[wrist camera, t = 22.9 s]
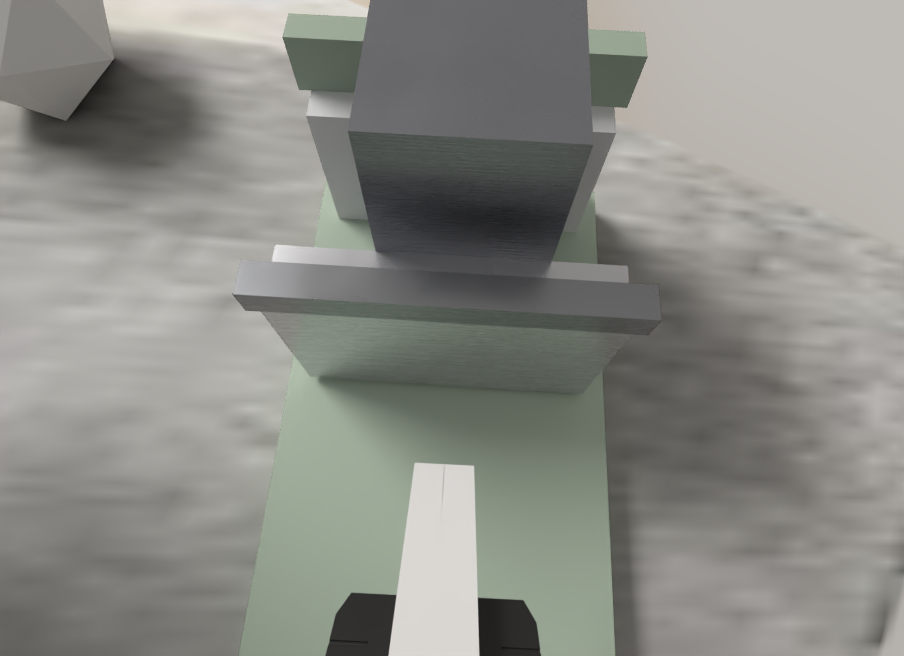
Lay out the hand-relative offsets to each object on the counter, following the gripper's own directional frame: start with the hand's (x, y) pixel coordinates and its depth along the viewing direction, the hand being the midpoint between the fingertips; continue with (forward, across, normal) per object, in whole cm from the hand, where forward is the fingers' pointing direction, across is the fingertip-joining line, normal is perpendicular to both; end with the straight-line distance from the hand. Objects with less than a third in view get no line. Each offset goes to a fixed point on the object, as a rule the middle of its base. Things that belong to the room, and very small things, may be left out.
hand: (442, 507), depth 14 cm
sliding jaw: (+11, 0, -1) cm, 11 cm away
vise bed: (+11, 0, -3) cm, 12 cm away
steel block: (+14, 0, +2) cm, 14 cm away
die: (+25, -24, +9) cm, 36 cm away
